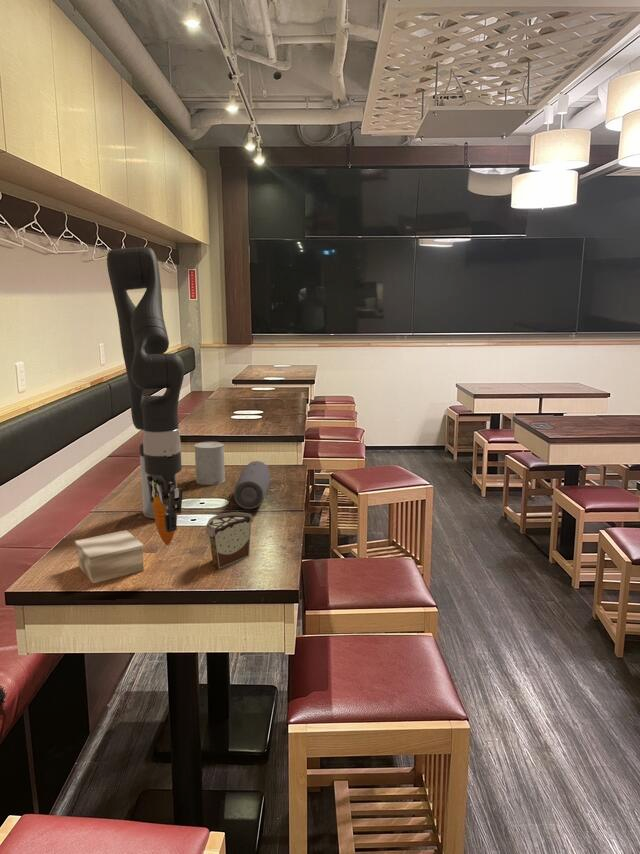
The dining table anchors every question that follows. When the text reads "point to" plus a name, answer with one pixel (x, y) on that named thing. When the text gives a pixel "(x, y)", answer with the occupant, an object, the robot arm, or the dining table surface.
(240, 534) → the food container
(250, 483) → the bluetooth speaker
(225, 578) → the dining table surface
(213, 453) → the grey cylinder
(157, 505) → the carrot
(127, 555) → the wooden stand
